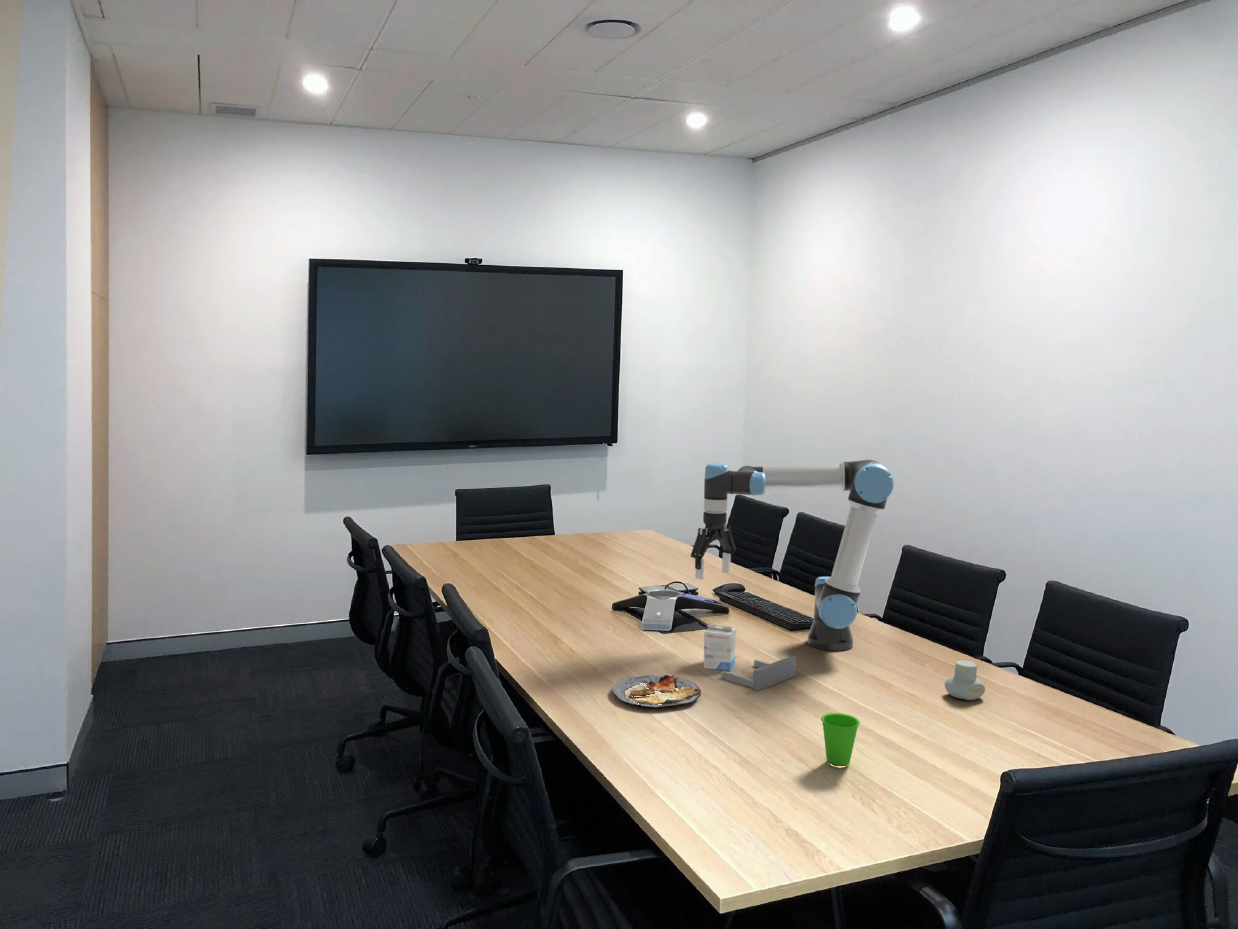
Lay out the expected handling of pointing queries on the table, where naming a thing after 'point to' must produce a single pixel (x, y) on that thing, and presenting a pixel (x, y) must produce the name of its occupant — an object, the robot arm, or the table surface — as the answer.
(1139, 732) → the table surface
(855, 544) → the robot arm
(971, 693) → the air freshener
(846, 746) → the cup
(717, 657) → the ink box
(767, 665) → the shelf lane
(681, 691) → the food plate
